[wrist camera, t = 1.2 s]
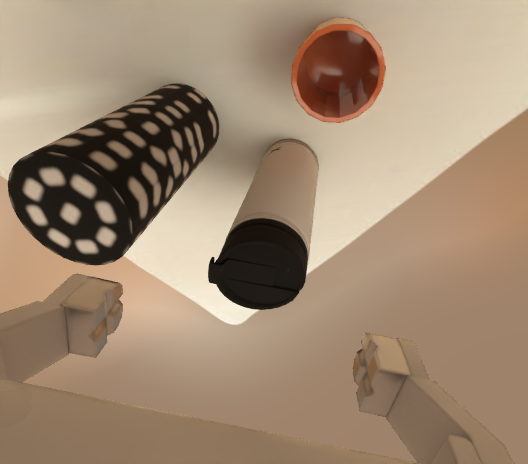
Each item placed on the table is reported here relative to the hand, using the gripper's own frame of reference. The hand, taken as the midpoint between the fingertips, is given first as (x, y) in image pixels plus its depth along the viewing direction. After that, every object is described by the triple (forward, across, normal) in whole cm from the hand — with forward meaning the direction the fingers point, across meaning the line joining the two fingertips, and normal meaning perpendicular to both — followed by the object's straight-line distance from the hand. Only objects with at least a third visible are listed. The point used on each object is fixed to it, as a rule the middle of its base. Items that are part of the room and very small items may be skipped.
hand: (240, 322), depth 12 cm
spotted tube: (+30, +11, 0) cm, 32 cm away
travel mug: (+30, -1, +2) cm, 30 cm away
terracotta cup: (+28, -4, -9) cm, 30 cm away
